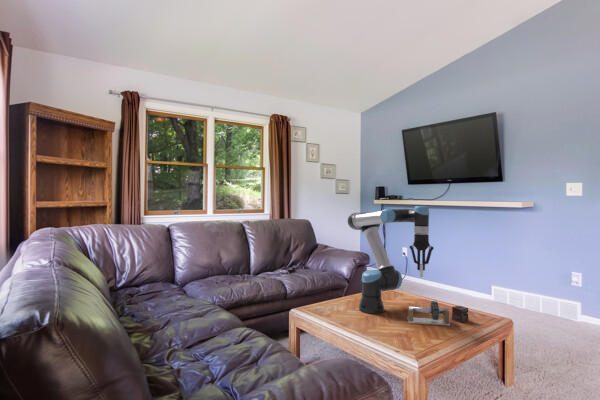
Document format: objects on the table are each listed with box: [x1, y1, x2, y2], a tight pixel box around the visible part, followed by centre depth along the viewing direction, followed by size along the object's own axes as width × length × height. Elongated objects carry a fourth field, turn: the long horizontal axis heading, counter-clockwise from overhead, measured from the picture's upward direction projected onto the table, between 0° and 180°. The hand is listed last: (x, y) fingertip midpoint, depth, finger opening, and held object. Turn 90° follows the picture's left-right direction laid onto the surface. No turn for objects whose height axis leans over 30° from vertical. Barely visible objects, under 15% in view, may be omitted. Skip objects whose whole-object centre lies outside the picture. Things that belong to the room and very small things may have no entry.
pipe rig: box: [406, 305, 451, 327], centre depth 182 cm, size 21×7×8 cm, turn 79°
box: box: [451, 305, 469, 324], centre depth 184 cm, size 6×6×7 cm
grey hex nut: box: [430, 300, 440, 320], centre depth 181 cm, size 2×9×9 cm, turn 169°
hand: (421, 276), depth 185 cm, fingers closed
